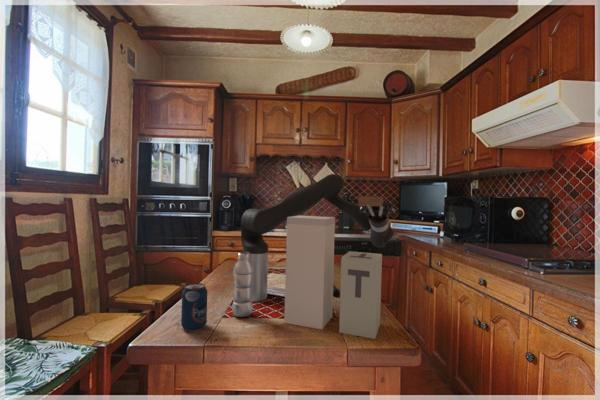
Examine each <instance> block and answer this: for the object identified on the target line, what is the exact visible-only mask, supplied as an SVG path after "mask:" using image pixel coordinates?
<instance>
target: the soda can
mask: <svg viewBox="0 0 600 400" xmlns="http://www.w3.org/2000/svg"><path fill="white" fill-rule="evenodd" d="M183 287H184V288H183V290H182V292H181V313H180V314H181V322H180V324H181V325H180V326H181V327H182V328H183V330H184V331H185V332H189V333H190V332H192V333H193V332H199V331H201V330H202V329H204V328H205V327H206V325H207V322H208V320H207V319H208V289H207V287H206V284H204V283H200V282H193V283H188V284H185V285H184V286H183Z"/></svg>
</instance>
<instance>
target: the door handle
mask: <svg viewBox="0 0 600 400" xmlns="http://www.w3.org/2000/svg"><path fill="white" fill-rule="evenodd" d="M339 295H340V290H339V288H337V287H336V286H335V285H334V284H333V297H338V296H339Z"/></svg>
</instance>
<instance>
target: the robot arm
mask: <svg viewBox="0 0 600 400" xmlns="http://www.w3.org/2000/svg"><path fill="white" fill-rule="evenodd" d="M344 186H345V181H344V179H343V177H342V176H341V175H339V174H337V173H336V174H335V173H330V174H327V175H326V176H324V177H323V178H322V179H320V180H318V181H316V182H314V183H312V184H310V185H307V186H304V187H303V188H299V189H297V190H295V191H293V192H291V193H289V194H287V195H285V197H284V198H283V199H282V200H281V201H280V202H279V203H277V204H276V205H275V204H274V205H273V206H270V207H267V208H248V209H246V210H245V211H244V212H243V214H242V216H241V220H240V242H241V246H242V249H243V250H242V252H249V253H250V255H249V257H250V259H249V261H250V263H251V264H252V266H253V277H252V285H251V297H252V302H262V301H265V300H267V297H268V277H269V276H268V270H269V245H268V243H267V242H266V241H265V240H264V238H263V235H264V234H267V233H269V232H271V231H272V230H273V229H275V228H276V227H278V226H279V225H281V224H282V223H284V222H287V217H292V216H300V215H301V214H303V213H305V212H307V211H308V210H311V208H313V207H314V206H315V205H316V204H318V203H319V202H320V201H322V200H323V199H324V200H326V201H327V202H328V203H330V204H331V205H333V206H335V207H336V208H337V209H338V210H340V211H341V212H343V213H344V214H346V215H347V216H348V217H350V219H352V220H353V221H354V222H355V223H356V224H357V225H358V226H359V227H360V228H362V229H363V230H364V231H365V232H367V231H370V230H371V232H370V235H369V238H370V241H371V243H372V245H373V246H374V247H375V248H384V247H385V246H386V244H388V242H389V241H390V240H391V239H393V237H394V235H395V233H394V230H393V228H392V227H391V226H390V225H389V224H390V222H389V221H390V220H389V214H391V215H395V214H396V213H395V212H396V208H395V207H394V206H393V205H392V204H391V203H390V202H389V201H385V202H384V200H383V206H358V204H355V203H353V202H350V201H347V200H345V199H344V198H343V197H341V196H340V193H341V192H342V190H343V189H344ZM368 197H372V196H371V195H368ZM378 197H382V196H381V195H379V196H378Z"/></svg>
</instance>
